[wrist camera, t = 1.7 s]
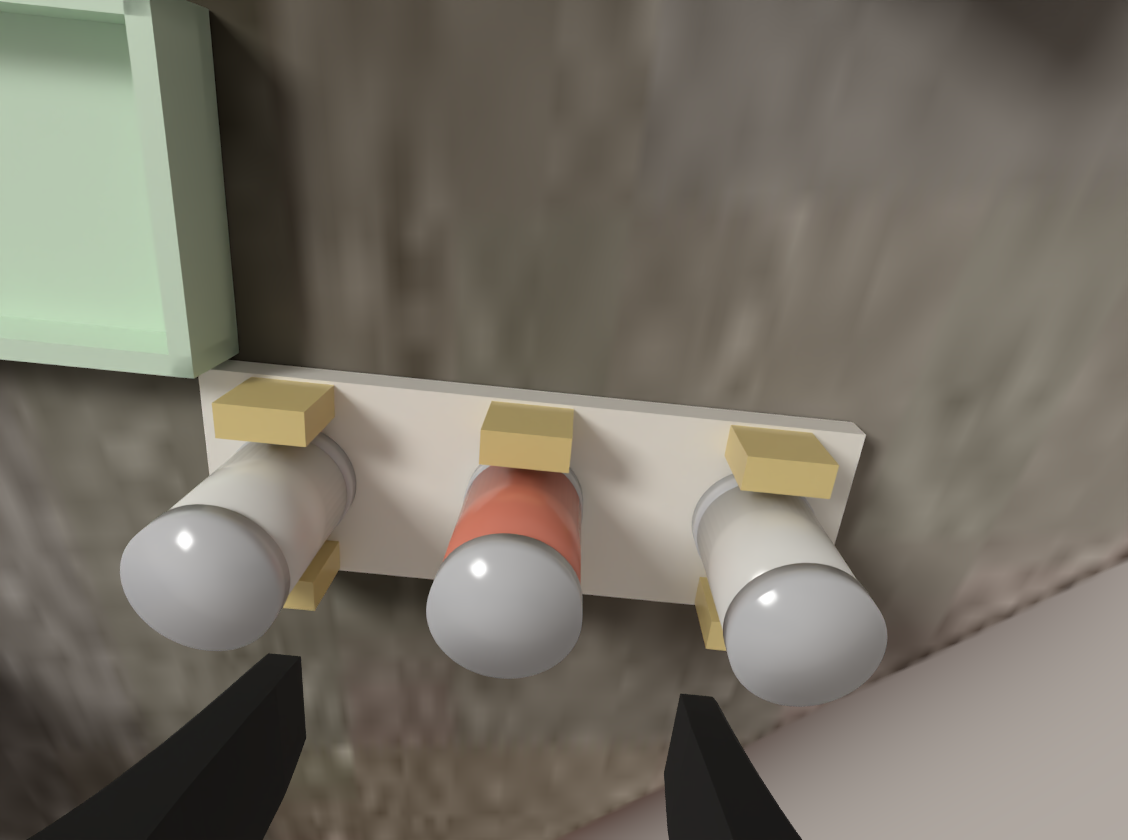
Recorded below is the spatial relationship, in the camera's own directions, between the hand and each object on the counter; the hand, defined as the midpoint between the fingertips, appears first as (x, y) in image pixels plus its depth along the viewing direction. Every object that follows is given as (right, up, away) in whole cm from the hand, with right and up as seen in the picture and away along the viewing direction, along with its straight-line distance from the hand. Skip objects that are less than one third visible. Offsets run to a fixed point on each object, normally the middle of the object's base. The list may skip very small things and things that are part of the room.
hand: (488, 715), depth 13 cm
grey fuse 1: (-7, +4, +8) cm, 11 cm away
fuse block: (0, +4, +9) cm, 10 cm away
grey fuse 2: (+7, +2, +8) cm, 11 cm away
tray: (-13, +12, +6) cm, 19 cm away
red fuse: (0, +3, +8) cm, 8 cm away
